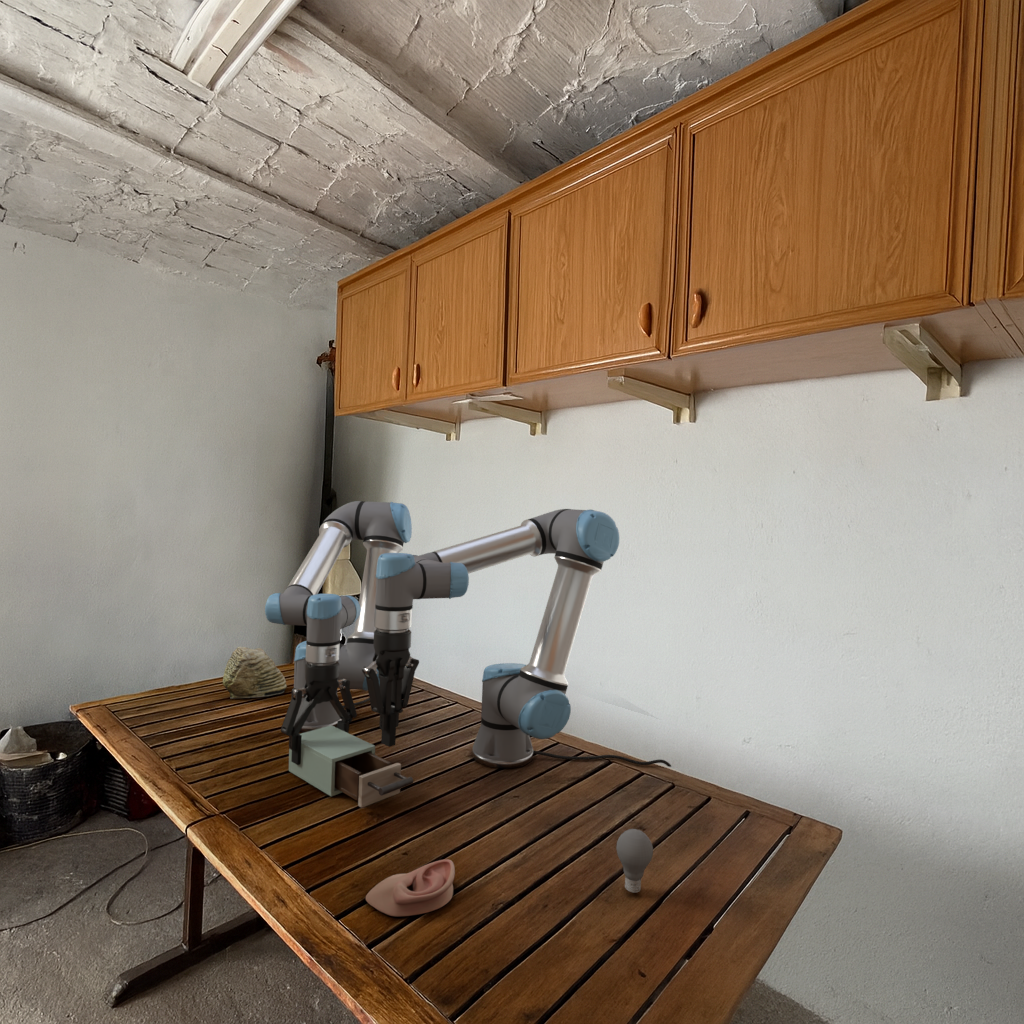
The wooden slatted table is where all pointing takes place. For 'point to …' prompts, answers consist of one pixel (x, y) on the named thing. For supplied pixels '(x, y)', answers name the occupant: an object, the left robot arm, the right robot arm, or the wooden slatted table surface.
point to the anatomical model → (414, 890)
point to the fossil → (252, 674)
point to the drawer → (369, 778)
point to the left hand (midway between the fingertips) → (319, 755)
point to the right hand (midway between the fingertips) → (388, 743)
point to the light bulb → (634, 857)
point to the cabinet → (326, 756)
